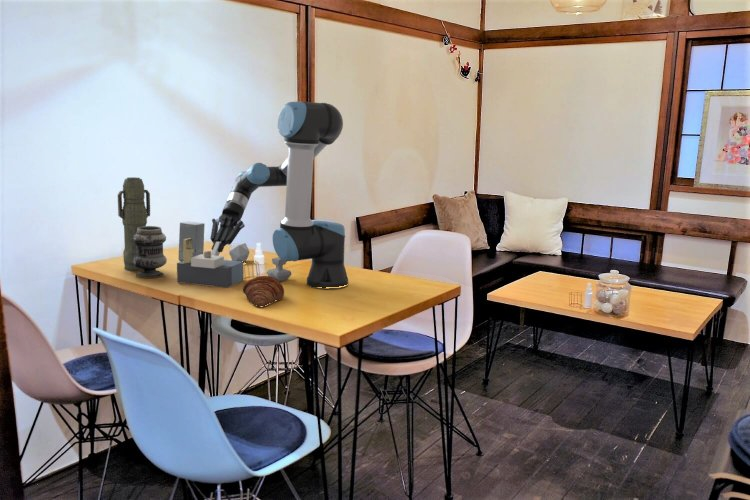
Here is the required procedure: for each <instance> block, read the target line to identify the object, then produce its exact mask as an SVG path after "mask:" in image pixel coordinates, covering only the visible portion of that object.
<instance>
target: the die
mask: <svg viewBox="0 0 750 500" xmlns="http://www.w3.org/2000/svg"><path fill="white" fill-rule="evenodd" d="M228 255H229V256H230V258H231V261H241V262H242V261H246V262H247V260H248V257H249V255H250V250H249V247H248V245H247V243H246V242H232V243H231V247H230V249H229V251H228Z"/></svg>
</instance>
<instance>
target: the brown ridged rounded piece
mask: <svg viewBox="0 0 750 500" xmlns="http://www.w3.org/2000/svg"><path fill="white" fill-rule="evenodd" d="M242 292H243V294H244V295H245V297H246V299H247V300H249V301H248V302H250V301H251V302H252V303H251V302H250V303H251V304H252V305H253V304H254V305H257V306H265V305H267V304H269V303H272V302H273V303H275V302H274V301H275V300H279V299H281V298H282V299H283V298H284V296H285V288H284V286H283V284H282V283H281V281H278V280H277V279H276V278H274V277H271V276H268V275H259V276H256V277H254V278H251V279H249V280H248V281H247V282H246V283H245V284H244V285H243V287H242ZM282 299H281V300H282ZM279 301H280V300H279ZM273 303H272V304H273ZM254 305H253V306H254Z"/></svg>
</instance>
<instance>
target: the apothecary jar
mask: <svg viewBox="0 0 750 500" xmlns="http://www.w3.org/2000/svg"><path fill="white" fill-rule="evenodd" d="M132 239H133V242H135V243H136V255H135V256H134V258H133V264H134V265H135V266H137V267H139V268H142V269H144V270H140V271H139V272H138V273H136V274H135V276H136V277H137V278H140V279H141V278H142V279H155V278H156V279H157V278H160V277H163V276H164V275H165V273H163V271H160V270H158V269H159V268H162V267H163V266H165V265H166V264H167V261H168V259H167V257H166V256H165V254H164V243H165V242H166V240H167V235H165V233H163V230H162V227H160V226H156V225H146V226H142V227H138V228H137V232H136V234H134V235H133V238H132Z"/></svg>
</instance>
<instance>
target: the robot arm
mask: <svg viewBox="0 0 750 500" xmlns="http://www.w3.org/2000/svg"><path fill="white" fill-rule="evenodd" d="M343 128H344V120H343V116H342V114H341V112H340V110H339V109H338V108H337V107H335V106H334V105H333V104H330V103H326V102H312V101H301V100H299V101H289V102H287V103H285V104H284V105H283V107H281V109H280V111H279V114H278V117H277V129H278V133H279V135H280V136H282V137H283V139H284V140H283V142H284V143H285V145H286V146H287V149H288V151H287V157H286V158H285V159H284V160H283V161H282V163H280V165H279V166H267V165H266V164H264V163H262V162H256V163H254V164H252V165H251V166H249V167H248V169H246V170H243V171H240V172H239V173H238V175H237V177H236V178H235V180H234V183H233V186H232V187H231V191H230V193H229V195H228V197H227V199H226V202H225V204H224V206H223V208H222V211H221V214H220V216H219V217H218V218H216V219H215V218H212V219H211V221H212V226H211V234H210V241H211V242H212V243H213V244H212V246H211V255H214V256H220V253H223V251H224V248H225V246H226V245H228V246H229V245H232V244H233V241H234V240H235V239H236V237H237V236H238V234H240V233H239V232H240V231H241V230H242V229H243V228H245V223H244V221H243V220H242V218H243V216H244V212H245V210H246V208H247V205H248V203H249V200H250V199H251V196H252V194H253V193H254V192H255V191H256V190H257V189H259V188H265V187H267V188H268V187H286V189H285V190H286V191H285V210H284V217H283V218H282V219H281V220H280V222H279V227H278V228H276V229H275V230H274V232H273V233H272V246H273V249H274V251H275V253H276V255H277V257H279V258H280V259H282V260H284V261H287V262H297V261H305V260H311V265H310V268H309V272H308V275H307V276H306V286H308V285H309V286H308V287H310V286H311V287H310V288H313V287H322V288H326V287H339V286H344V285H347V284H348V285H349V277H348V274H347V269H346V266H345V238H346V234H345V231H346V229H345V227H344V225H343V224H342V223H340V222H339V223H338V222H333V221H326V220H312V219H311V207H312V205H311V204H312V192H313V191H312V189H313V175H314V174H313V173H314V159H315V158H316V157H317V156H318V155H319V154H320V153H321V152H322V150H324V149H325V148H326V146H327V145H328V146H329V145H332V144H334V142H335V141H336V140H337V139H338V138H339V137H340V135H341V134H342V131H343Z"/></svg>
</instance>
